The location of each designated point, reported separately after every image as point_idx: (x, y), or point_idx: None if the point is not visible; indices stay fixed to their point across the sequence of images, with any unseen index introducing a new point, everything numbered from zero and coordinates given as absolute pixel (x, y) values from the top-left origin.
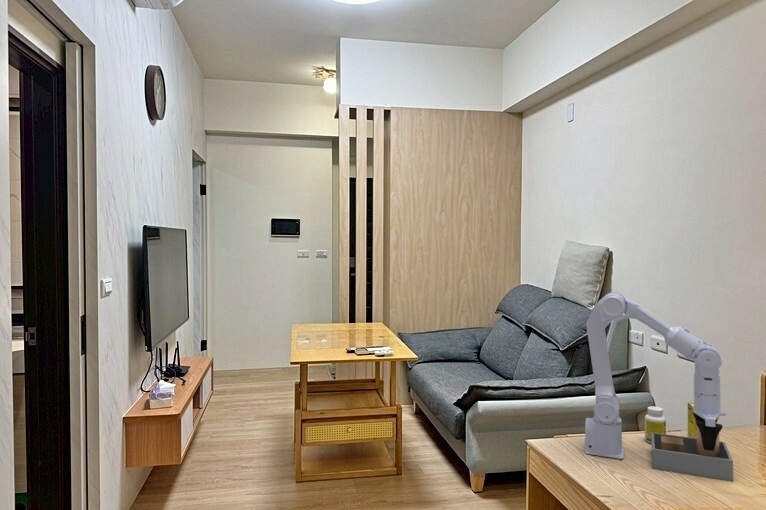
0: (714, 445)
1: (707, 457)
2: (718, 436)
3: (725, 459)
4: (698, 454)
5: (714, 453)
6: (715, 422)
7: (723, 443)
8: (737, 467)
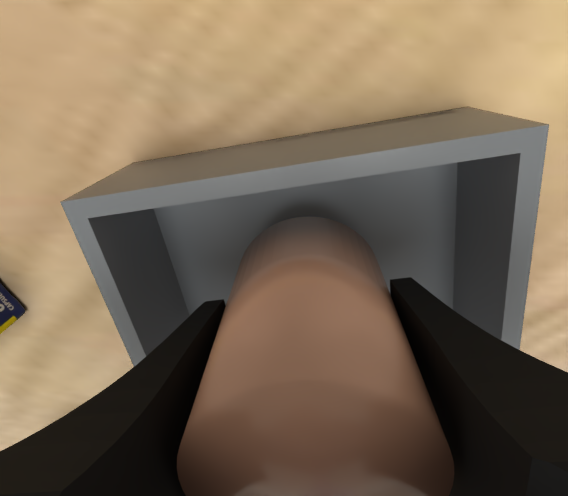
0: (436, 299)
1: (524, 298)
2: (353, 314)
3: (532, 183)
4: (181, 296)
5: (372, 257)
6: (126, 439)
7: (112, 211)
8: (197, 89)
